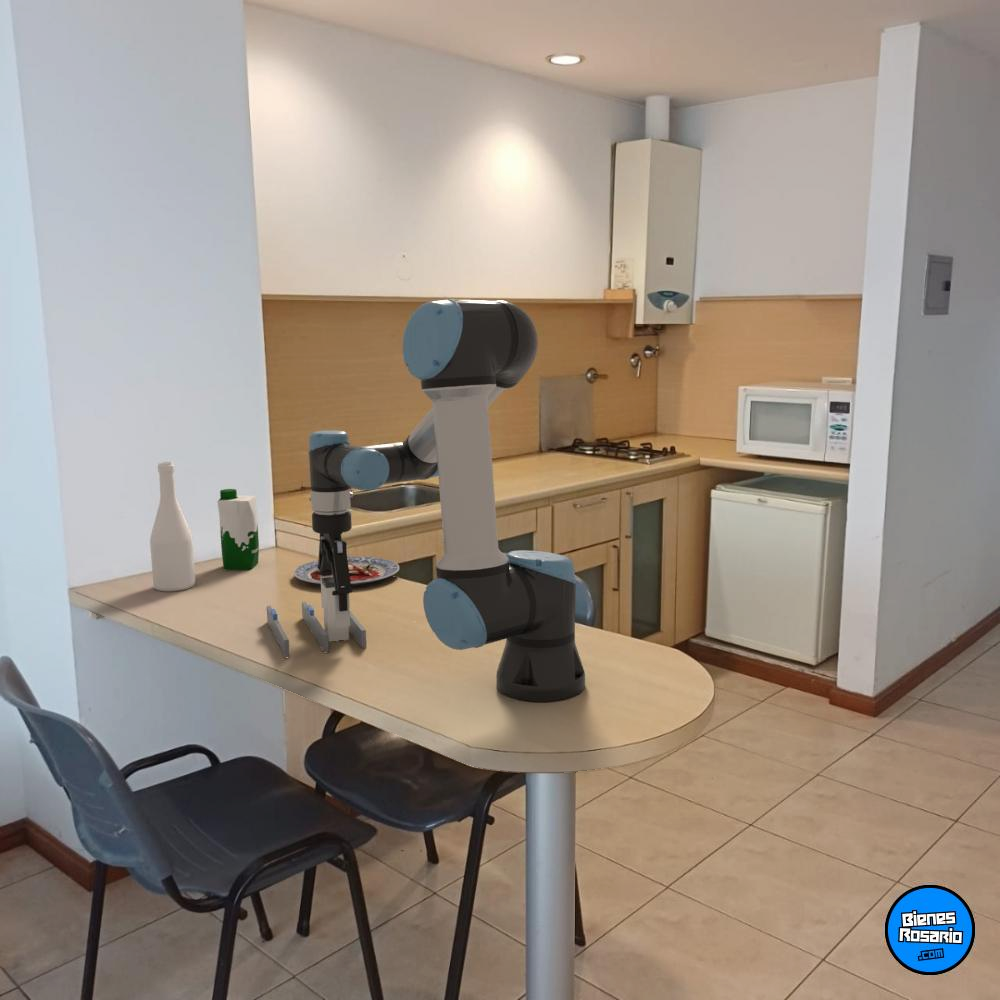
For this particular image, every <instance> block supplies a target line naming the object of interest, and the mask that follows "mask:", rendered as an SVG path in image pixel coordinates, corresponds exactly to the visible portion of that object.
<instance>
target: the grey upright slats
mask: <svg viewBox="0 0 1000 1000" xmlns="http://www.w3.org/2000/svg"><path fill="white" fill-rule="evenodd" d="M301 612H302V613H301V615H302V617H303V618H302V617H301V618H302V620H303V619H304V620H305V621H304V620H303V621H304V623H305V622H306V623H305V625H306V624H307V625H308V626H307V625H306V626H307V628H308V627H309V628H310V629H309V628H308V629H309V631H310V630H311V631H312V633H313V634H312V633H311V634H312V636H313V635H314V636H315V637H314V636H313V637H314V639H315V638H316V639H317V641H318V642H317V641H316V642H317V644H318V643H319V644H320V645H319V644H318V645H319V647H320V646H321V647H322V649H323V650H322V649H321V650H322V652H323V651H324V652H329V642H328V634H327V633H326V631H325V628H324V627H323V626H322V624H321V623H320V621H319V620H318V618H317V616H316V615H315V610H314V608H313V606H312V605H311V604H308V603H307V601H301ZM266 621H267V624H268V626H269V625H270V626H269V628H270V627H271V628H270V630H271V629H272V630H271V632H272V631H273V632H272V634H273V633H274V634H273V636H274V635H275V636H274V638H275V637H276V638H275V640H276V639H277V640H276V642H277V641H278V642H277V644H278V643H279V644H278V646H279V645H280V646H279V648H281V649H280V650H282V651H281V652H283V653H282V654H284V655H283V657H284V656H285V657H290V654H291V653H290V640H289V638H288V636H287V634H286V632H285V630H284V628H283V627H282V625H281V623H280V620H279V619H278V613H277V610H276V609H275V608H272V605H266ZM311 631H310V632H311ZM349 633H350V634H351V635H352V636H353V638H354V640H356V642H357V644H359V646H360V645H361V646H360V647H361V648H362V649H364V648H363V647H366V648H367V630H366V628H365V627H364V626H363V625H362V623H360V621H359V620H358V619H357V617H356V616H355V615H354V613H353V612H352V611H351V610H350V626H349ZM316 639H315V640H316ZM321 647H320V648H321ZM324 652H323V653H324ZM285 657H284V658H285Z"/></svg>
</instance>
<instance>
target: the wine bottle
mask: <svg viewBox="0 0 1000 1000" xmlns="http://www.w3.org/2000/svg"><path fill="white" fill-rule="evenodd" d="M157 471H158V473H159V475H158V476H159V491H160V492H159V493H160V494H159V495H160V496H159V497H160V498H159V504H158V508H157V510H156V511H157V512H156V515H155V518H154V523H153V526H152V530H151V533H150V539H149V543H150V544H149V546H150V558H151V569H152V571H151V572H152V583H153V584H152V585H153V587H154V588H155V589H156V590H157V591H158V592H159V591H160V592H178V591H184V590H188V589H191V588H193V587H194V586H195V583H196V570H195V569H196V568H195V555H194V553H195V552H194V541H193V535H192V532H191V529H190V526H189V525H188V522H187V521H186V518H185V516H184V513H183V510H182V509H181V506H180V504H179V501H178V498H177V493H176V484H175V483H176V482H175V474H174V472H175V464H174V462H173V461H162V462H158V464H157Z"/></svg>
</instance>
